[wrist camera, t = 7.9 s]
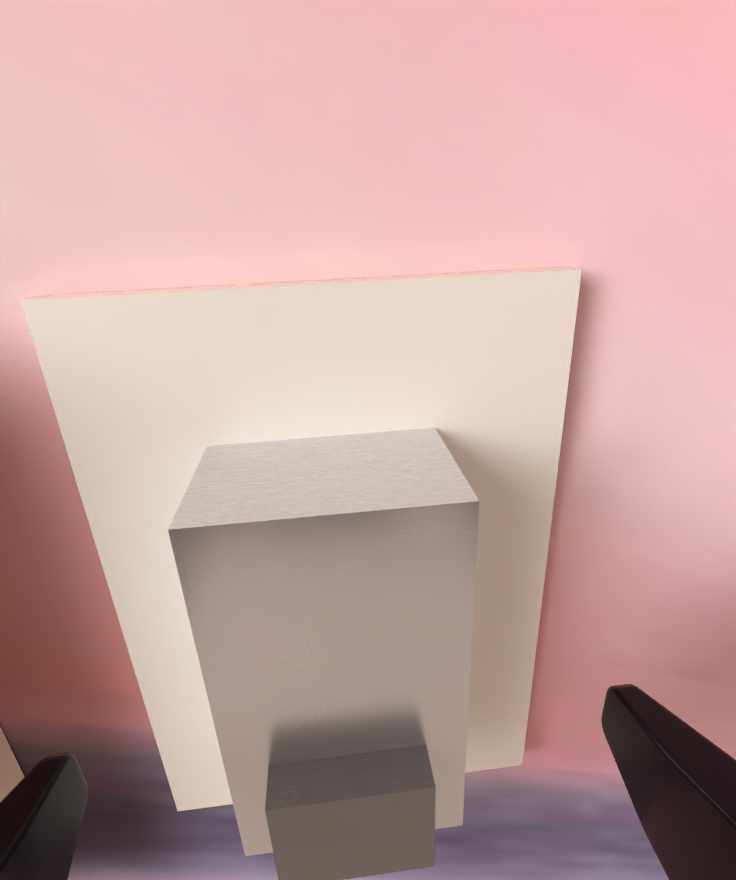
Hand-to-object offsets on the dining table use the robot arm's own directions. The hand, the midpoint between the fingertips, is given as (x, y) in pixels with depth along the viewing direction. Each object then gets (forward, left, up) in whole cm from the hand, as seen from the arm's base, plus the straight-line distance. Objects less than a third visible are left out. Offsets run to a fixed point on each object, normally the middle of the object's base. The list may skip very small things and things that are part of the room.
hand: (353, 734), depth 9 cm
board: (0, 0, -4) cm, 4 cm away
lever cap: (0, 0, -4) cm, 4 cm away
